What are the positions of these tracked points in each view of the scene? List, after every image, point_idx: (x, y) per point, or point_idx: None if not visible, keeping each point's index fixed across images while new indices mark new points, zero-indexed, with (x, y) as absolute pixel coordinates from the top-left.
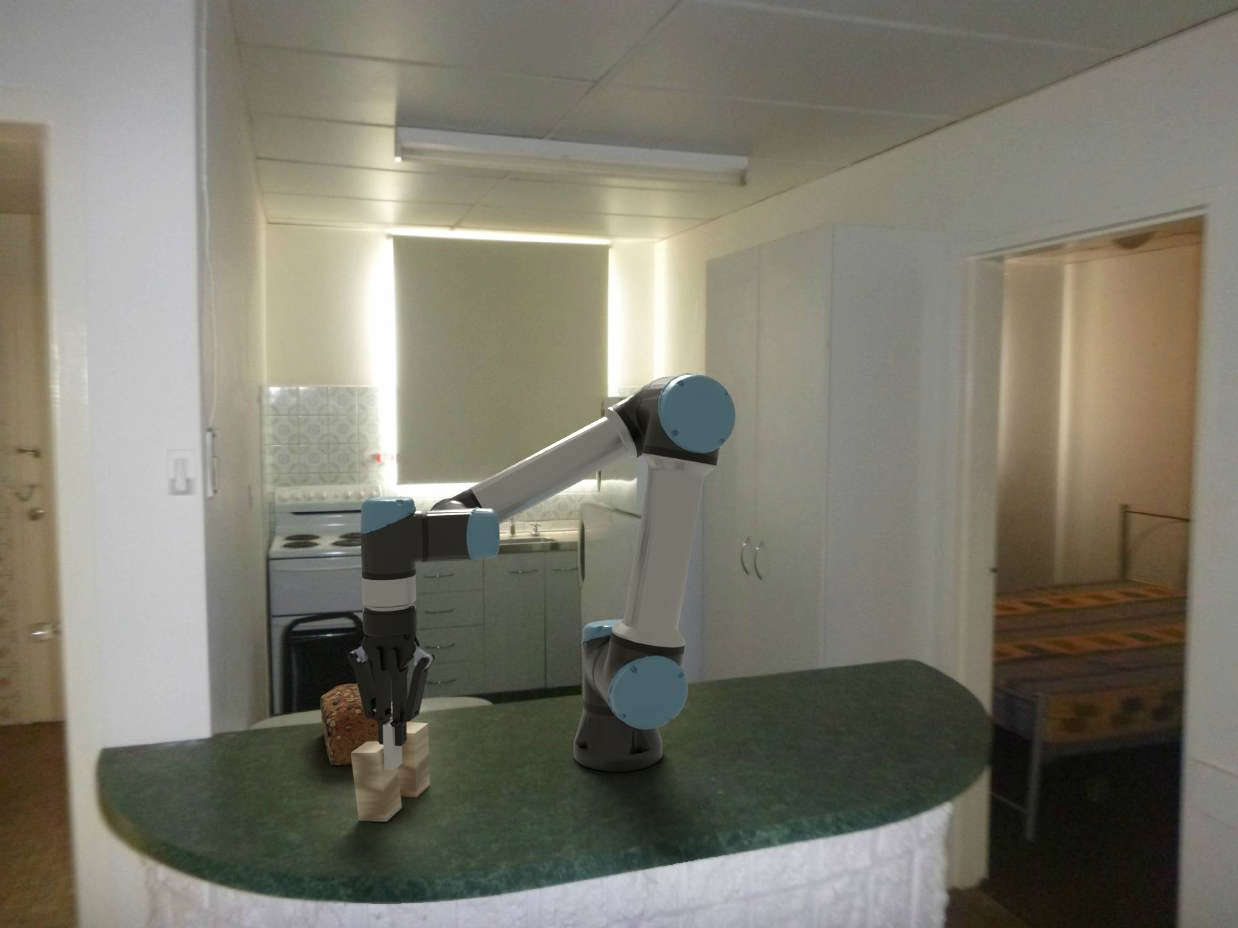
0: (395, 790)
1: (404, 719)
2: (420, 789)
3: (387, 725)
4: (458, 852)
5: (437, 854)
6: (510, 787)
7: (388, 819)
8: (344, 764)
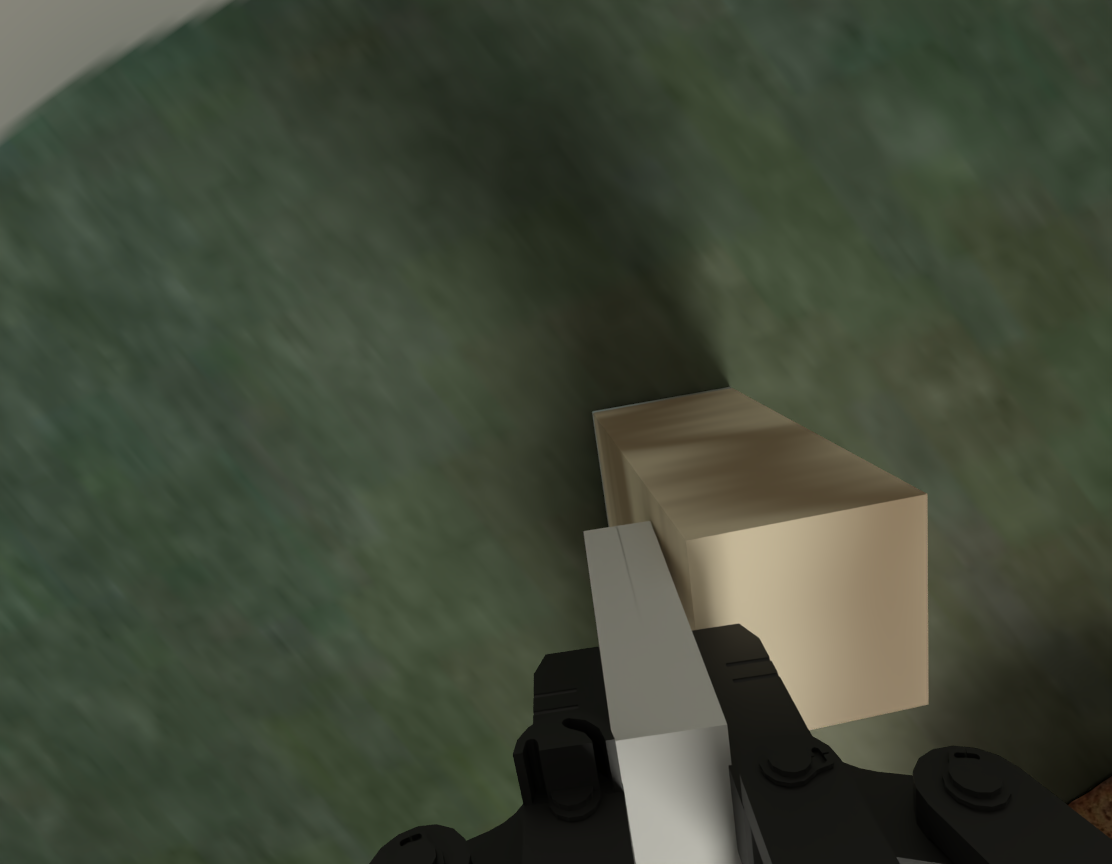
0: None
1: (462, 837)
2: None
3: (672, 733)
4: (125, 309)
5: (195, 257)
6: (320, 849)
7: (594, 428)
8: (1109, 780)
